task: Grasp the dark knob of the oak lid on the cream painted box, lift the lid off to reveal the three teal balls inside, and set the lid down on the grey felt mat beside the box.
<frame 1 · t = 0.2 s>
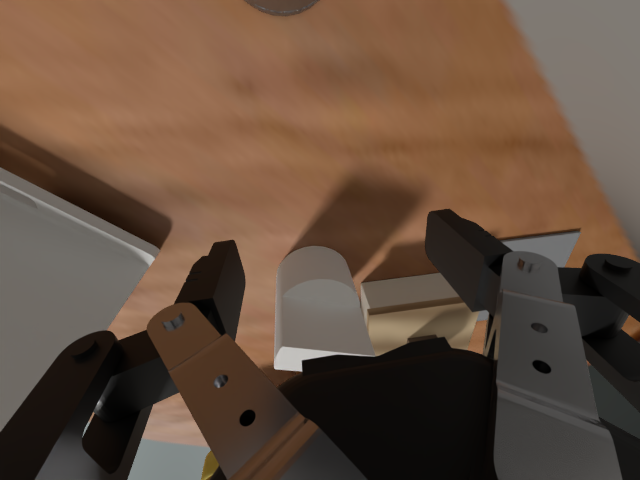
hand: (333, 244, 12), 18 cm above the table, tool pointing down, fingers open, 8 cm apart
box: (402, 310, 40), on the table
white knob: (313, 275, 35), on the table
mat: (509, 280, 39), on the table
lid: (416, 339, 36), point 5 cm above the table, touching box
plant pot: (245, 411, 49), on the table
tablet stand: (5, 233, 28), on the table
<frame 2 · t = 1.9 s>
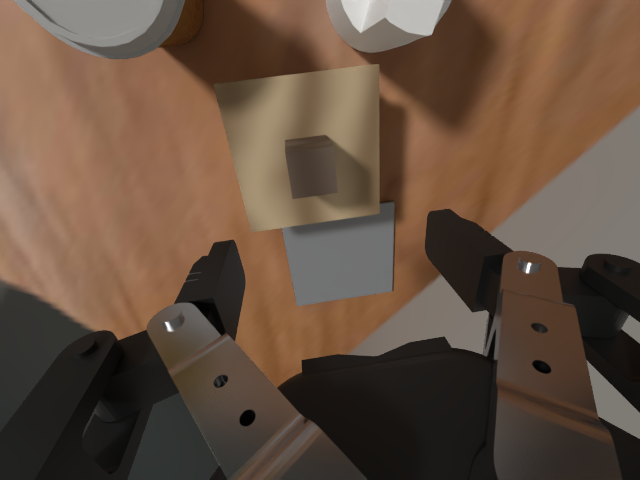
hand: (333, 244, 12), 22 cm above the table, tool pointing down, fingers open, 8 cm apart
disposable coffee cup: (165, 0, 24), on the table
mat: (341, 256, 38), on the table
lid: (307, 155, 26), point 5 cm above the table, touching box
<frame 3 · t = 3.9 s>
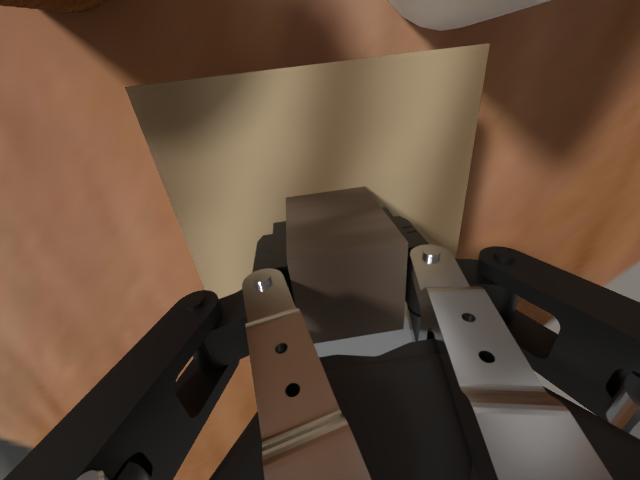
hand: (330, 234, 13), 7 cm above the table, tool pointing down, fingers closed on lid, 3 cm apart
mat: (367, 338, 26), on the table
lid: (326, 218, 14), point 5 cm above the table, touching box, gripper
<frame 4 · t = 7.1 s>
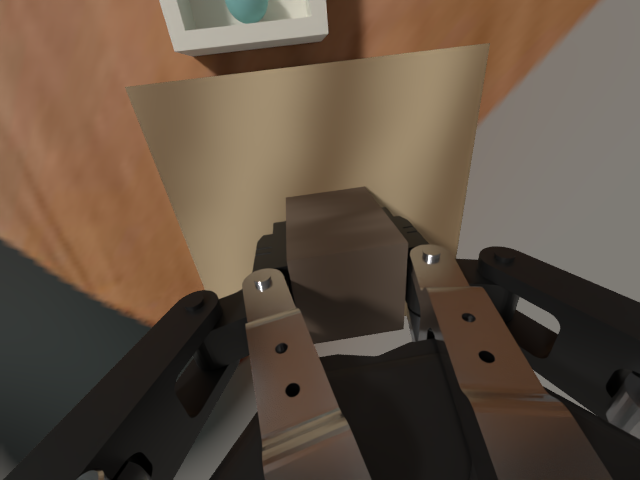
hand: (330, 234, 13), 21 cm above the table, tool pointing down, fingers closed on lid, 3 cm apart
lid: (326, 218, 14), point 20 cm above the table, touching gripper
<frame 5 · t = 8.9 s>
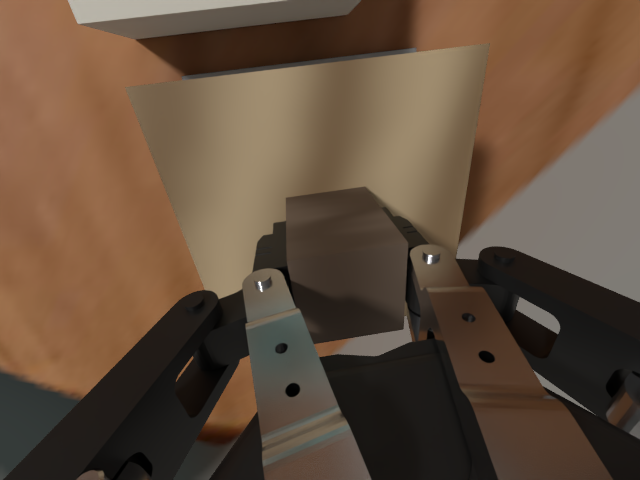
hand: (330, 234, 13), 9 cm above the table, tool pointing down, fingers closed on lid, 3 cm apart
mat: (314, 175, 21), on the table
lid: (326, 218, 14), point 7 cm above the table, touching gripper
when the fingers open (4 cm above the table, at t = 10.5 s): lid drops 1 cm, resting on mat.
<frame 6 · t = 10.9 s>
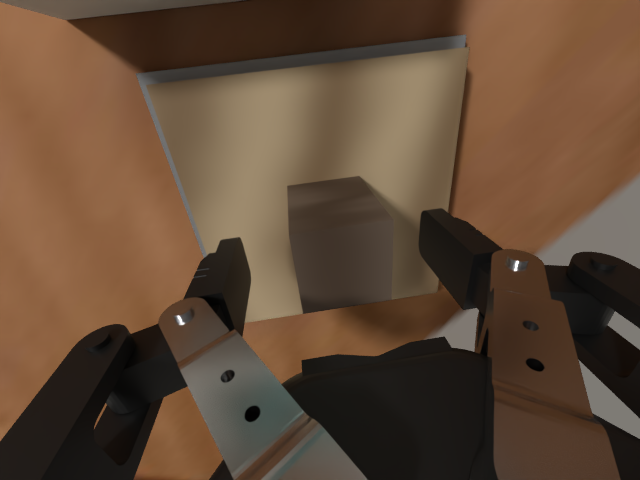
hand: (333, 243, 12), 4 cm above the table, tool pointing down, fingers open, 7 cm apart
mat: (321, 204, 16), on the table
lid: (324, 206, 15), resting on mat
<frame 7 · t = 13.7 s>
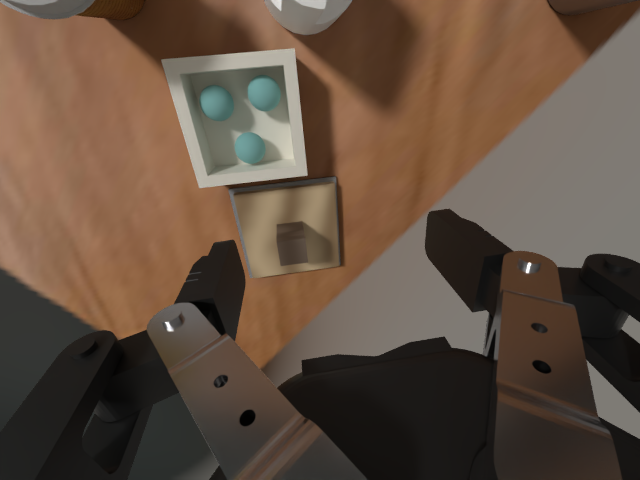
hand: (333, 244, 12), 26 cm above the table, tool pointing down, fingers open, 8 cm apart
box: (247, 119, 33), on the table
ball 2: (216, 103, 30), point 3 cm above the table, touching box
mat: (289, 229, 41), on the table
lid: (290, 230, 40), resting on mat
ball 3: (250, 148, 32), point 3 cm above the table, touching box
ball 1: (264, 93, 30), point 3 cm above the table, touching box
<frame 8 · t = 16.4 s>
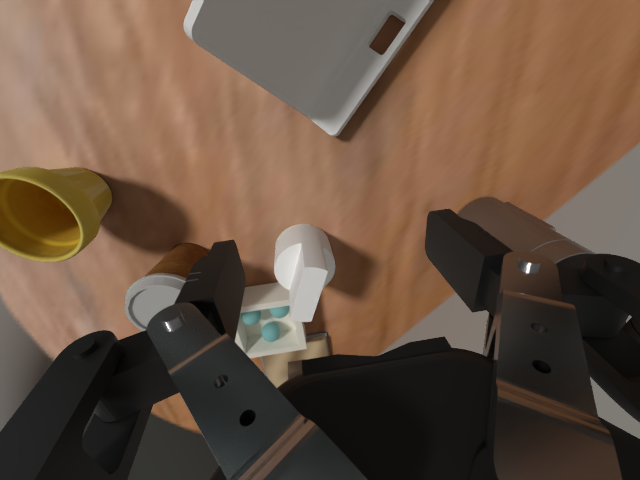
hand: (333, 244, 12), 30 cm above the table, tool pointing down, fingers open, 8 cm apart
disposable coffee cup: (190, 259, 46), on the table
box: (268, 310, 52), on the table
ball 2: (251, 314, 49), point 3 cm above the table, touching box
white knob: (302, 247, 47), on the table
lid: (297, 362, 60), resting on mat
plant pot: (85, 191, 39), on the table
ball 3: (271, 332, 51), point 3 cm above the table, touching box
ball 1: (279, 308, 49), point 3 cm above the table, touching box
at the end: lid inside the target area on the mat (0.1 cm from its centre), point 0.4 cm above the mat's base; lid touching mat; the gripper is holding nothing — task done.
